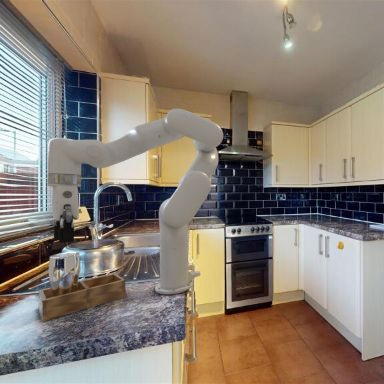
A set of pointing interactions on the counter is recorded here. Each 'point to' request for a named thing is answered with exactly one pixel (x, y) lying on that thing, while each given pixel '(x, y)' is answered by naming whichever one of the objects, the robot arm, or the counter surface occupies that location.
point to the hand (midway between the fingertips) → (63, 240)
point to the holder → (81, 296)
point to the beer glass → (64, 273)
